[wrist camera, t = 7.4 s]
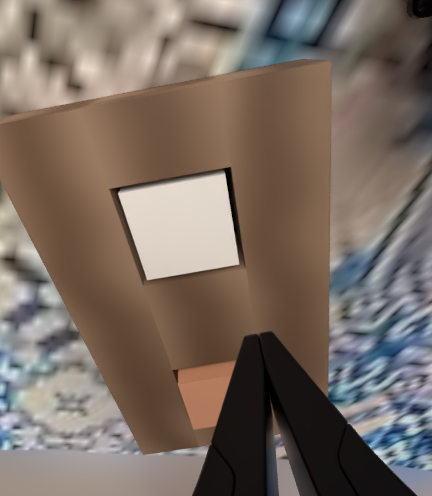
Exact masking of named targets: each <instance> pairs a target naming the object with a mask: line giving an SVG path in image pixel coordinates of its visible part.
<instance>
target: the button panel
mask: <svg viewBox="0 0 432 496" xmlns="http://www.w3.org/2000/svg"><path fill="white" fill-rule="evenodd" d="M331 74H332V61H324V60H308V59H300V60H295V61H290V62H284V63H279V64H274V65H269V66H263V67H258V68H253V69H248V70H243V71H237V72H232V73H227V74H222V75H216V76H211V77H206V78H201V79H196V80H190V81H185V82H180V83H175V84H170V85H164V86H159V87H154V88H149V89H143V90H138V91H133V92H128V93H123V94H117V95H112V96H107V97H102V98H96V99H91V100H86V101H81V102H76V103H70V104H65V105H60V106H55V107H49V108H44V109H39V110H34V111H29V112H23V113H19V114H16V115H13V116H10V117H8V118H5V119H2V120H0V180H1V182H2V184H3V186H4V188H5V190H6V192H7V194H8V196H9V198H10V200H11V202H12V204H13V205H14V207H15V209H16V211H17V213H18V215H19V217H20V219H21V221H22V223H23V225H24V227H25V228H26V230H27V232H28V234H29V236H30V238H31V240H32V242H33V244H34V246H35V248H36V250H37V252H38V253H39V255H40V257H41V259H42V261H43V263H44V265H45V267H46V269H47V271H48V273H49V275H50V277H51V278H52V280H53V282H54V284H55V286H56V288H57V290H58V292H59V294H60V296H61V298H62V300H63V302H64V303H65V305H66V307H67V309H68V311H69V313H70V315H71V317H72V319H73V321H74V323H75V325H76V326H77V328H78V330H79V332H80V334H81V336H82V338H83V340H84V342H85V344H86V346H87V348H88V350H89V351H90V353H91V355H92V357H93V359H94V361H95V363H96V365H97V367H98V369H99V371H100V373H101V375H102V376H103V378H104V380H105V382H106V384H107V386H108V388H109V390H110V392H111V394H112V396H113V398H114V399H115V401H116V403H117V405H118V407H119V409H120V411H121V413H122V415H123V417H124V419H125V421H126V423H127V424H128V426H129V428H130V430H131V432H132V434H133V436H134V438H135V440H136V442H137V444H138V446H139V448H140V449H141V451H142V453H143V455H146V454H153V453H159V452H166V451H172V450H179V449H185V448H192V447H198V446H205V445H211V440H212V437H213V433H214V430H215V427H216V426H214V427H208V428H201V429H195V430H194V429H193V426H192V424H191V421H190V418H189V415H188V412H187V409H186V406H185V404H184V401H183V398H182V395H181V392H180V389H179V386H178V369H183V368H189V367H196V366H202V365H208V364H214V363H220V362H227V361H233V360H236V359H237V356H238V352H239V349H240V346H241V343H242V340H243V337H244V336H245V335H249V334H258V335H259V333H261V332H267V331H272V332H273V333H274V334H275V335H276V336H277V337H278V339H279V340H280V341H281V342H282V343H283V345H284V346H285V347H286V348H287V349H288V351H289V352H290V353H291V354H292V355H293V357H294V358H295V359H296V360H297V361H298V363H299V364H300V365H301V366H302V367H303V369H304V370H305V371H306V372H307V373H308V375H309V376H310V377H311V378H312V379H313V381H314V382H315V383H316V384H317V385H318V387H319V388H320V389H321V390H322V391H323V393H324V394H325V395H326V396H327V397H328V350H329V258H330V166H331ZM221 168H228V175H229V182H230V188H231V195H232V201H233V208H234V215H235V221H236V228H237V233H234V234H235V240H236V246H237V253H238V259H239V265H233V266H227V267H222V268H216V269H210V270H204V271H198V272H192V273H187V274H181V275H175V276H169V277H163V278H157V279H151V280H147V278H146V275H145V272H144V269H143V266H142V263H141V260H140V257H139V254H138V251H137V248H136V245H135V242H134V239H133V236H132V233H131V231H130V228H129V225H128V222H127V219H126V216H125V213H124V210H123V207H122V204H121V201H120V198H119V195H118V193H119V191H120V189H121V187H122V186H128V185H133V184H139V183H144V182H150V181H155V180H161V179H166V178H172V177H177V176H183V175H188V174H194V173H199V172H205V171H210V170H216V169H221ZM258 337H259V336H258ZM269 395H270V394H269ZM270 400H271V399H270ZM271 406H272V404H271ZM272 413H273V424H274V435H277V434H280V432H279V428H278V425H277V422H276V419H275V416H274V412H273V408H272Z"/></svg>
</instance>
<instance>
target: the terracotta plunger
mask: <svg viewBox="0 0 432 496" xmlns="http://www.w3.org/2000/svg"><path fill="white" fill-rule="evenodd" d="M235 362H236V360H233V361H227V362H220V363H214V364H208V365H202V366H196V367H189V368H183V369H178V386H179V389H180V392H181V395H182V398H183V401H184V404H185V406H186V409H187V412H188V415H189V418H190V421H191V424H192V426H193V429H194V430H195V429H201V428H208V427H214V426H216V424H217V420H218V417H219V414H220V411H221V407H222V404H223V401H224V398H225V394H226V391H227V388H228V385H229V382H230V378H231V375H232V372H233V369H234V365H235Z"/></svg>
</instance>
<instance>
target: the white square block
mask: <svg viewBox="0 0 432 496" xmlns="http://www.w3.org/2000/svg"><path fill="white" fill-rule="evenodd" d="M118 195H119V198H120V201H121V204H122V207H123V210H124V213H125V216H126V219H127V222H128V225H129V228H130V231H131V233H132V236H133V239H134V242H135V245H136V248H137V251H138V254H139V257H140V260H141V263H142V266H143V269H144V272H145V275H146V278H147V280H151V279H157V278H163V277H169V276H175V275H181V274H187V273H192V272H198V271H204V270H210V269H216V268H222V267H227V266H233V265H239V259H238V253H237V246H236V240H235V234H234V227H233V221H232V215H231V208H230V202H229V195H228V189H227V183H226V176H225V172H224V168H221V169H216V170H210V171H205V172H199V173H194V174H188V175H183V176H177V177H172V178H166V179H161V180H155V181H150V182H144V183H139V184H133V185H128V186H122V187H121V189H120V191H119V193H118Z"/></svg>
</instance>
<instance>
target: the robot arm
mask: <svg viewBox="0 0 432 496" xmlns="http://www.w3.org/2000/svg"><path fill="white" fill-rule="evenodd" d="M419 1H420V0H408V4H407V13H408V15H409V16H410V17H411V18H413V19H418V18H424V17H429V16H432V0H423V1H424V6H423V8H422V10H421V11H419V9H418V3H419ZM258 336H259V337H258ZM269 394H270V395H269ZM270 399H271V400H270ZM271 404H272V406H271ZM272 408H273V412H274V416H275V419H276V422H277V425H278V428H279V432H280V435H281V438H282V441H283V444H284V447H285V450H286V453H287V457H288V460H289V463H290V466H291V469H292V472H293V475H294V478H295V481H296V485H297V487H298V491H299V494H300V496H417V495H416V494H415V493H414V492H413V491H412V490H411V489H410V488H409V487H408V486H407V485H406V484H404V482H403V481H402V480H401V479H400V478H399V477H398V476H397V475H396V474H395V473H393V471H392V470H391V469H390V468H389V467H388V466H387V465H386V464H385V463H384V462H383V461H382V460H381V459H380V458H379V457H378V456H377V455H376V454H375V453H374V451H373V450H372V449H371V448H370V447H369V446H368V445H367V444H366V442H365V441H364V440H363V439H362V438H361V437H360V436H359V434H358V433H357V432H356V431H355V430H354V428H353V427H352V426H351V425H350V424H348V422H347V420H346V419H345V418H344V417H343V415H342V414H341V413H340V412H339V411H338V409H337V408H336V407H335V406H334V405H333V403H332V402H331V401H330V400H329V399H328V397H327V396H326V395H325V394H324V393H323V391H322V390H321V389H320V388H319V387H318V385H317V384H316V383H315V382H314V381H313V379H312V378H311V377H310V376H309V375H308V373H307V372H306V371H305V370H304V369H303V367H302V366H301V365H300V364H299V363H298V361H297V360H296V359H295V358H294V357H293V355H292V354H291V353H290V352H289V351H288V349H287V348H286V347H285V346H284V345H283V343H282V342H281V341H280V340H279V339H278V337H277V336H276V335H275V334H274V333H273V332H272V331H267V332H261V333H259V335H258V334H249V335H245V336H244V337H243V340H242V343H241V346H240V349H239V352H238V356H237V359H236V362H235V365H234V369H233V372H232V375H231V378H230V382H229V385H228V388H227V391H226V394H225V398H224V401H223V404H222V407H221V411H220V414H219V417H218V420H217V424H216V427H215V430H214V433H213V437H212V440H211V445H210V446H209V449H208V452H207V455H206V459H205V462H204V465H203V467H202V470H201V474H200V476H199V479H198V482H197V484H196V487H195V489H194V492H193V494H192V496H279V490H278V477H277V464H276V451H275V437H274V424H273V413H272Z"/></svg>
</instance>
